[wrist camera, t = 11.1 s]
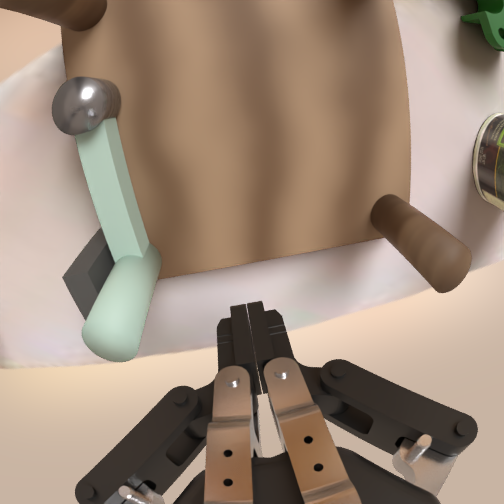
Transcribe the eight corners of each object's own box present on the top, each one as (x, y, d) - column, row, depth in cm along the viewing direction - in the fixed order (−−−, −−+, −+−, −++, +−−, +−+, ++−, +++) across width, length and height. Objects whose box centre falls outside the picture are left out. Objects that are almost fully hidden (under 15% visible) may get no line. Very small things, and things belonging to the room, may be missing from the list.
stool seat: (116, 270, 23) (73, 366, 14) (54, 20, 12) (-35, -4, 3) (392, 220, 23) (468, 290, 14) (366, -31, 12) (446, -78, 3)
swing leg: (71, 89, 13) (-11, 94, 6) (116, 72, 13) (46, 58, 6) (128, 280, 20) (97, 363, 13) (168, 273, 20) (148, 360, 13)
